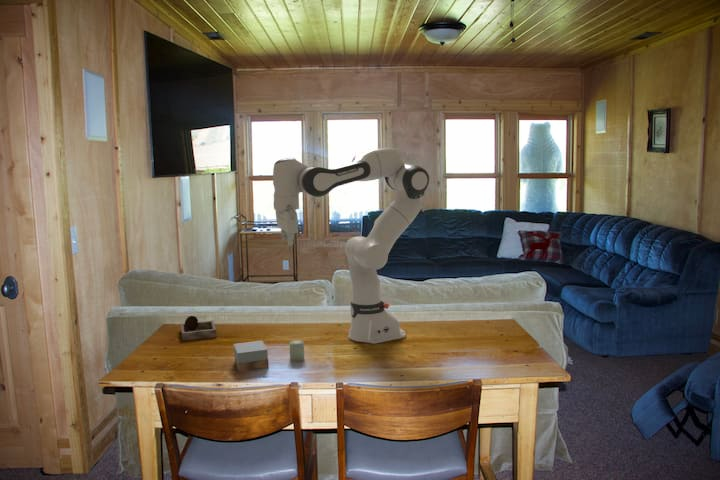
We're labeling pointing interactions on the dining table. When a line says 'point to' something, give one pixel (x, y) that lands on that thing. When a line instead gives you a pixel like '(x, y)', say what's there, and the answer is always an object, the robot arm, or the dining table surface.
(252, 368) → the walnut slab
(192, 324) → the compass
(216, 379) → the dining table surface
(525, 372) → the dining table surface
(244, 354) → the grey slab
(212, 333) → the wooden frame
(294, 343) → the sage green rounded oval
